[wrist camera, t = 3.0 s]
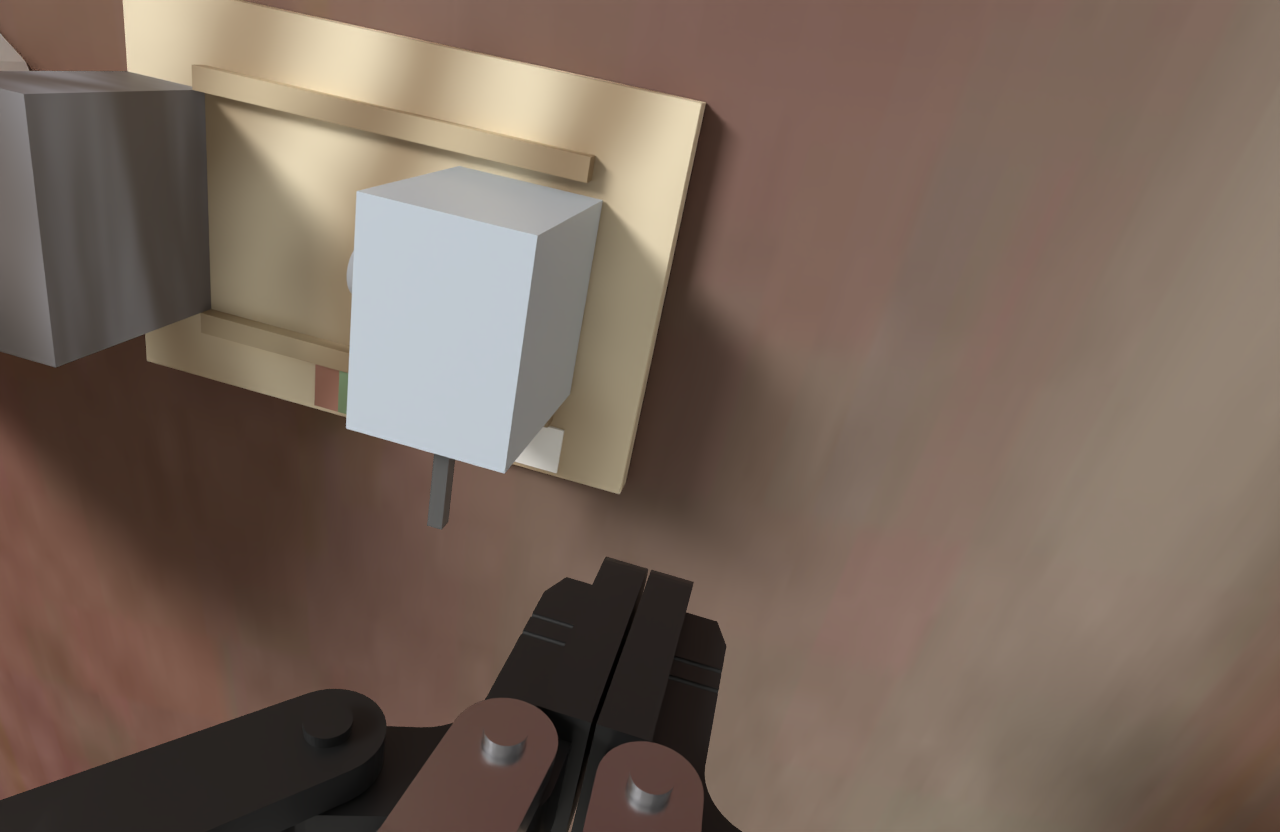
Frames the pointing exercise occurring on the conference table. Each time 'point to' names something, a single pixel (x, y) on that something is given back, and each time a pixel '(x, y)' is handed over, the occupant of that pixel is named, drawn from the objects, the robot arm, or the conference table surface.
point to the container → (10, 58)
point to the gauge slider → (465, 315)
